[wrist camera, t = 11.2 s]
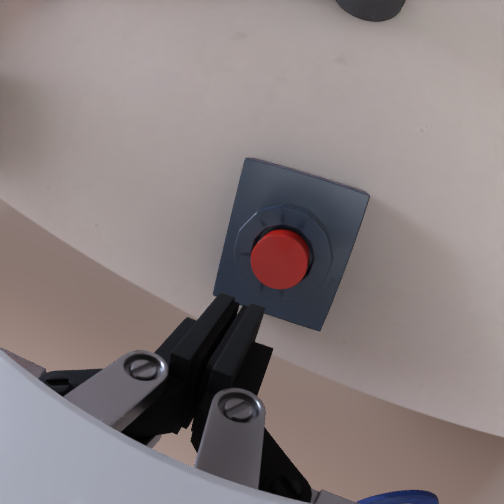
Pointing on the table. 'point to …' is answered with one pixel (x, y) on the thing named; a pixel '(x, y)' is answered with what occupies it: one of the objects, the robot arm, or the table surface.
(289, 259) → the button
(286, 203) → the button box
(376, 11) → the bottle
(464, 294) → the table surface
